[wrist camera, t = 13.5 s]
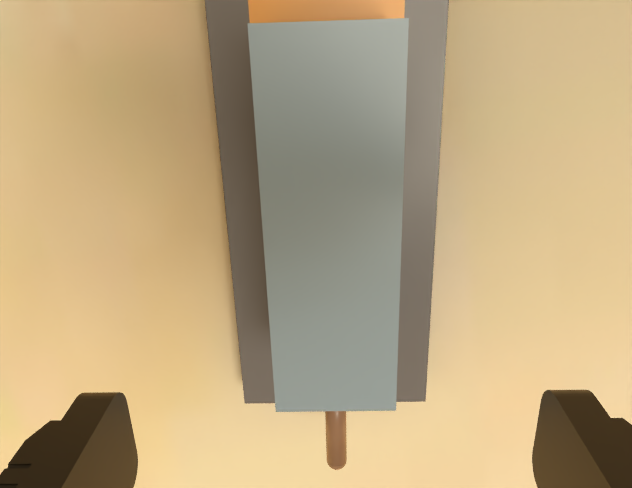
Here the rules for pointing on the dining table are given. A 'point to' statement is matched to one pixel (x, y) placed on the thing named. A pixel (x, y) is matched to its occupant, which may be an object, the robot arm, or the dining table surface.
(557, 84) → the dining table surface
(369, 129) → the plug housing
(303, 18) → the board
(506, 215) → the dining table surface
